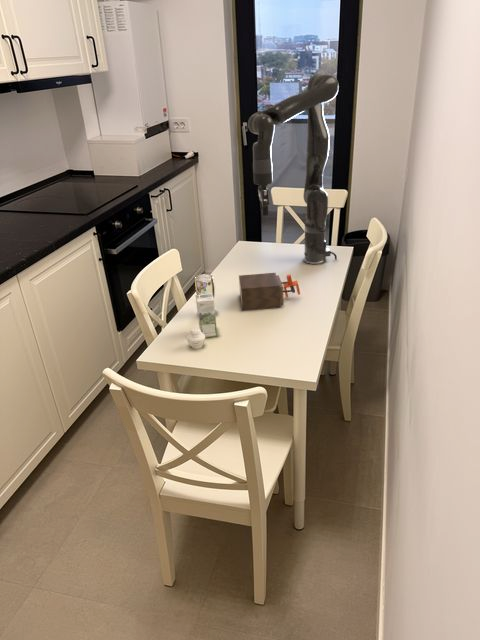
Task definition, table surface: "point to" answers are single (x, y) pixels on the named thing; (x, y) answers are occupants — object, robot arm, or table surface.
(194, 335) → the muffin
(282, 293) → the drawer
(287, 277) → the orange angular part
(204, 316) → the syrup box
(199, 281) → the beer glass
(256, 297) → the cabinet
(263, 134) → the robot arm
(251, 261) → the table surface
